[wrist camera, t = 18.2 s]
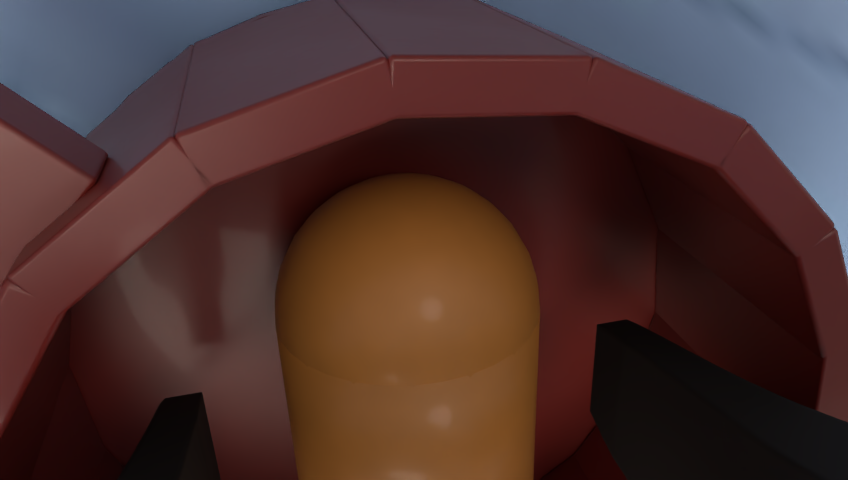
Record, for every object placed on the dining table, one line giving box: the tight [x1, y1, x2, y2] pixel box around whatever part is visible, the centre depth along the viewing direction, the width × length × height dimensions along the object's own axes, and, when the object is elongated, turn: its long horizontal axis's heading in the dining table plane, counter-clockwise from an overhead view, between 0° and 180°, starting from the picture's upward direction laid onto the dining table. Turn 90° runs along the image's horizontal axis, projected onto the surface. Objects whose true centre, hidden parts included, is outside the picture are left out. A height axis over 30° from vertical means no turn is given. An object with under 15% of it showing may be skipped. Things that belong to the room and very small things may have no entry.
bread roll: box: [275, 173, 540, 480], centre depth 13 cm, size 8×4×4 cm, turn 2°
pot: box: [0, 0, 848, 480], centre depth 13 cm, size 13×19×5 cm
